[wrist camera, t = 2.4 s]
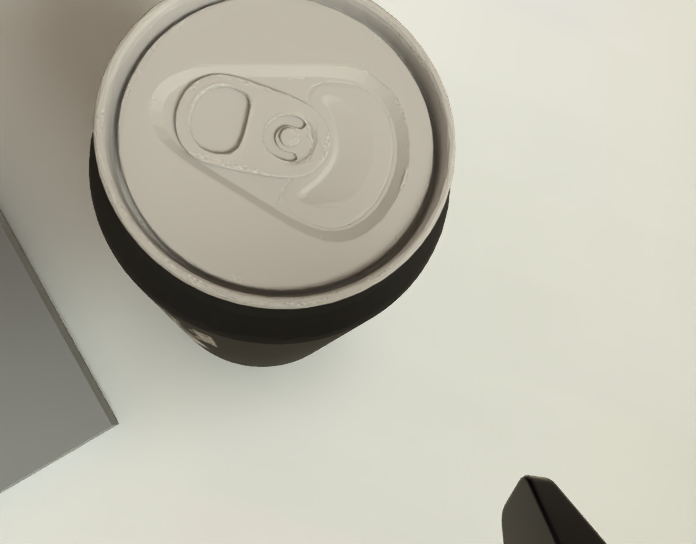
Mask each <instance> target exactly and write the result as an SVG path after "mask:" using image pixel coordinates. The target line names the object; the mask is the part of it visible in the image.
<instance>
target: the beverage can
mask: <svg viewBox="0 0 696 544" xmlns="http://www.w3.org/2000/svg"><path fill="white" fill-rule="evenodd" d="M455 149H456V148H455V131H454V123H453V116H452V112H451V108H450V104H449V100H448V96H447V94H446V91H445V89H444V86H443V84H442V81H441V79H440V77H439V75H438V73H437V71H436V69H435V67H434V65H433V64H432V62H431V61H430V59H429V58H428V56H427V54H426V53H425V51H424V50H423V48H422V47H421V46H420V44H419V43H418V42H417V41H416V39H415V38H414V37H413V36H412V35H411V33H410V32H409V31H408V30H407V29H406V28H405V27H404V26H403V25H402V24H401V23H400V22H399V21H398V20H397V19H395V18H394V17H393V16H392V15H390V14H389V13H388V12H387V11H385V10H384V9H383V8H381V7H380V6H379V5H378V4H376V3H374V2H373V1H371V0H162V1H161V2H159V3H158V4H157V5H155V6H154V7H152V8H151V9H150V10H149V11H148V12H147V13H146V14H145V15H144V16H143V17H142V18H141V19H140V20H139V21H137V22H136V23H135V24H134V25H133V26H132V28H131V29H130V30H129V32H128V33H127V34H126V36H125V37H124V38H123V39H122V41H121V42H120V43H119V45H118V47H117V48H116V50H115V52H114V54H113V55H112V57H111V59H110V61H109V62H108V65H107V67H106V70H105V72H104V74H103V77H102V79H101V82H100V86H99V91H98V95H97V100H96V104H95V112H94V122H93V134H92V138H91V145H90V158H89V178H90V189H91V196H92V201H93V205H94V209H95V213H96V216H97V220H98V222H99V225H100V228H101V230H102V233H103V235H104V237H105V239H106V241H107V243H108V245H109V247H110V249H111V251H112V252H113V254H114V256H115V257H116V259H117V260H118V262H119V263H120V265H121V266H122V268H123V269H124V270H125V272H126V273H127V274H128V275H129V276H130V278H131V279H132V280H133V281H134V282H135V283H136V284H137V285H138V286H139V287H140V289H141V290H142V291H143V292H145V293H146V294H147V295H148V296H149V297H150V298H151V299H152V300H153V301H154V302H155V303H156V304H157V305H158V306H159V307H160V308H161V309H162V310H163V311H164V312H165V313H166V314H167V315H168V316H169V317H170V318H171V319H172V320H173V321H174V322H176V323H177V324H178V325H179V326H180V327H181V328H182V329H183V330H184V331H185V332H186V333H187V334H188V335H189V336H190V337H191V338H192V339H193V340H194V341H195V342H196V343H198V344H199V345H200V346H201V347H203V348H204V349H206V350H207V351H209V352H210V353H212V354H214V355H216V356H218V357H220V358H222V359H224V360H227V361H230V362H233V363H237V364H241V365H246V366H256V367H268V366H277V365H283V364H287V363H291V362H294V361H297V360H299V359H302V358H304V357H306V356H308V355H310V354H312V353H313V352H315V351H317V350H318V349H320V348H322V347H323V346H325V345H327V344H329V343H330V342H332V341H334V340H335V339H337V338H339V337H340V336H342V335H344V334H346V333H347V332H349V331H351V330H352V329H354V328H356V327H357V326H359V325H361V324H363V323H364V322H366V321H368V320H369V319H371V318H373V317H374V316H376V315H377V314H379V313H380V312H382V311H383V310H385V309H386V308H387V307H388V306H390V305H391V304H392V303H393V302H394V301H396V300H397V299H398V298H399V297H400V296H401V295H402V294H403V293H404V292H405V291H406V290H407V289H408V288H409V287H410V286H411V284H412V283H413V282H414V281H415V280H416V278H417V277H418V276H419V274H420V273H421V272H422V270H423V268H424V267H425V265H426V264H427V262H428V260H429V259H430V257H431V255H432V253H433V251H434V249H435V247H436V245H437V242H438V240H439V238H440V235H441V233H442V229H443V226H444V222H445V218H446V214H447V210H448V203H449V194H450V186H451V182H452V178H453V173H454V162H455Z"/></svg>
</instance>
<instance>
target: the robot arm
mask: <svg viewBox="0 0 696 544" xmlns="http://www.w3.org/2000/svg"><path fill="white" fill-rule="evenodd" d="M502 531H503V543H504V544H606V543H605V541H604V540H603V539H602V538H601V537H600V535H599V534H598V533H597V532H596V531H595V530H594V528H593V527H592V526H591V525H590V524H589V523H588V521H587V520H586V519H585V518H584V517H583V516H582V514H581V513H580V512H579V511H578V510H577V509H576V507H575V506H574V505H573V504H572V503H571V501H570V500H569V499H568V498H567V497H566V496H565V494H564V493H563V492H562V491H561V490H560V489H559V487H558V486H557V485H556V484H555V483H554V482H553V481H552V480H550V479H548V478H545V477H538V476H530V475H525V476H524V477H522V478H521V479H520V480H519V482H518V484H517V485H516V487H515V489H514V490H513V492H512V494H511V495H510V497H509V499H508V500H507V502H506V504H505V506H504V508H503V512H502Z"/></svg>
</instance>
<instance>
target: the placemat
mask: <svg viewBox="0 0 696 544" xmlns="http://www.w3.org/2000/svg"><path fill="white" fill-rule="evenodd" d="M118 424H119V423H118V421H117V420H116V418H115V416H114V414H113V412H112V411H111V409H110V407H109V405H108V403H107V402H106V400H105V398H104V396H103V394H102V393H101V391H100V389H99V387H98V385H97V384H96V382H95V380H94V378H93V376H92V374H91V373H90V371H89V369H88V367H87V365H86V364H85V362H84V360H83V358H82V356H81V355H80V353H79V351H78V349H77V347H76V346H75V344H74V342H73V340H72V338H71V337H70V335H69V333H68V331H67V329H66V328H65V326H64V324H63V322H62V320H61V319H60V317H59V315H58V313H57V311H56V309H55V308H54V306H53V304H52V302H51V300H50V299H49V297H48V295H47V293H46V291H45V290H44V288H43V286H42V284H41V282H40V281H39V279H38V277H37V275H36V273H35V272H34V270H33V268H32V266H31V264H30V263H29V261H28V259H27V257H26V255H25V254H24V252H23V250H22V248H21V246H20V245H19V243H18V241H17V239H16V237H15V235H14V234H13V232H12V230H11V228H10V226H9V225H8V223H7V221H6V219H5V217H4V216H3V214H2V212H1V210H0V493H2V492H3V491H5V490H7V489H8V488H10V487H12V486H13V485H15V484H17V483H19V482H20V481H22V480H24V479H25V478H27V477H29V476H31V475H32V474H34V473H36V472H37V471H39V470H41V469H42V468H44V467H46V466H48V465H49V464H51V463H53V462H54V461H56V460H58V459H60V458H61V457H63V456H65V455H66V454H68V453H70V452H71V451H73V450H75V449H77V448H78V447H80V446H82V445H83V444H85V443H87V442H89V441H90V440H92V439H94V438H95V437H97V436H99V435H101V434H102V433H104V432H106V431H107V430H109V429H111V428H112V427H114V426H116V425H118Z"/></svg>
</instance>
